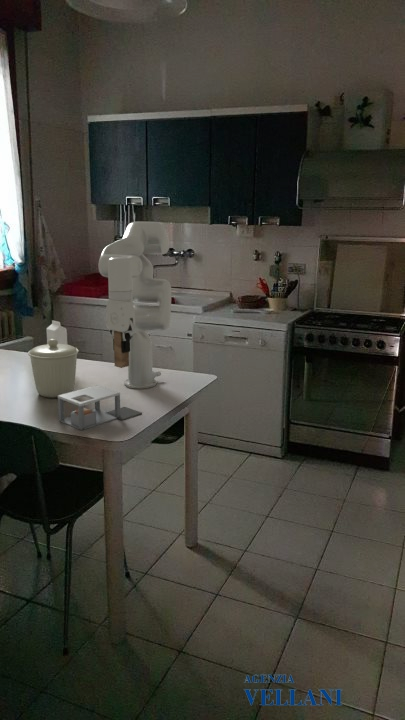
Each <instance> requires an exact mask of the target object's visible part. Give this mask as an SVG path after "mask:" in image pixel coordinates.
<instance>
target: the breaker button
mask: <svg viewBox="0 0 405 720" xmlns="http://www.w3.org/2000/svg"><path fill="white" fill-rule="evenodd" d="M90 410H91V409H89V408H87V407H84V415H85V414H89V413H91V412H90ZM75 411H76V413H77V414H78V408H77V409H75Z"/></svg>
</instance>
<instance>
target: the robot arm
mask: <svg viewBox="0 0 405 720" xmlns="http://www.w3.org/2000/svg"><path fill="white" fill-rule="evenodd" d="M170 244H171V243H170V237H169V234H168V232H167V230H166V227H165V226H164V224H162V223H161V222H159V221H132V222H130V223H129V224H128V225H127V226H126V228H125V231H124V233H123V235H122V238H120V239H118V240H116V241H114V242H112V243H110V244H108V245H106V246H105V247H104V248H103V250H102V252H101V254H100V256H99V260H98V263H97V264H98V265H97V266H98V272H99V274H100V275H101V276H102V277H104V278H107V279H108V282H107V283H108V299H107V300H106V308H105V327H106V330H108V331H109V332H110V334H111V338H112V342H113V343H112V345H113V348H112V349H113V351H114V331H117V332H122V339H123V341H121V344H122V353H126V352H129V366H127V372H128V373H127V377H128V378H127V379H126V380H125V381H124V386H125V387H127V388H130V389H138V390H139V389H143V390H145V389H151V388H154V387H155V386H156V385H157V379H155V378H156V377H160V376H162V372H161V371H160V370H158V371H155V372H154V370H153V342H152V341H153V339H152V338H151V336H150V334H148V332H147V331H159V332H161V331H167V330H168V329H169V327H170V324H171V315H172V314H171V313H172V312H171V311H172V286H171V283H170V281H168V279H164V278H154V265H153V264H152V262H151V261H150V259H148V257H146V256H145V255H165V254H167V253H168V252H169V250H170ZM134 303H138V304H139V305H138V304H134ZM142 304H143V305H142ZM144 304H146V305H144ZM147 304H158V305H147ZM126 333H127V335H126Z"/></svg>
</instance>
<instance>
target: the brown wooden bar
mask: <svg viewBox="0 0 405 720" xmlns="http://www.w3.org/2000/svg"><path fill="white" fill-rule="evenodd" d="M126 335H127V333H126ZM121 341H123V339H122V332H117V331H114V350H113V352H114V353H113V360H114V362H113V363H114V367H116V368H119V369H123V368H128V366H129V352H126V353H122V344H121Z"/></svg>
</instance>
